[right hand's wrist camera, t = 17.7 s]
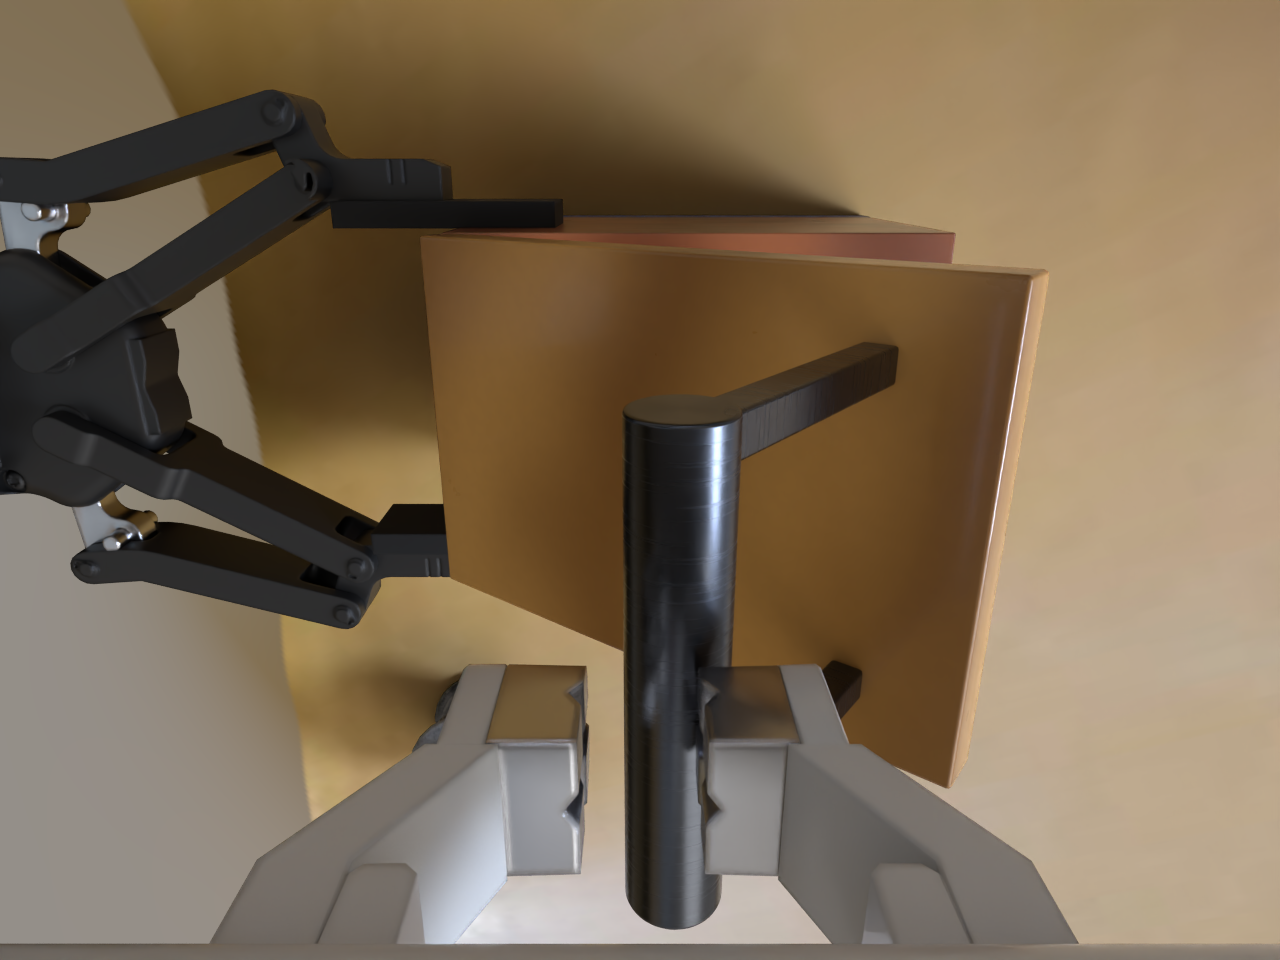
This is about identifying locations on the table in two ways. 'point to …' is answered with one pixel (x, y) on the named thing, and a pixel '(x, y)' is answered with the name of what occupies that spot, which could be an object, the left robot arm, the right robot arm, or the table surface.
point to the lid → (735, 485)
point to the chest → (752, 234)
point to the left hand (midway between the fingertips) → (564, 381)
